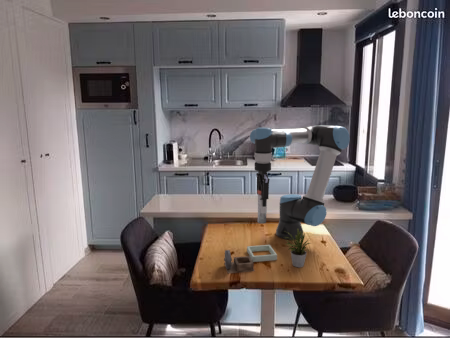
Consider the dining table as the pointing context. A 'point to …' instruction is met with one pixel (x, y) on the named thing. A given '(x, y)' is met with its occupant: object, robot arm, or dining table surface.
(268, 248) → the tray
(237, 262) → the block
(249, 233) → the dining table surface
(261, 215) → the pin
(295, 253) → the house plant
